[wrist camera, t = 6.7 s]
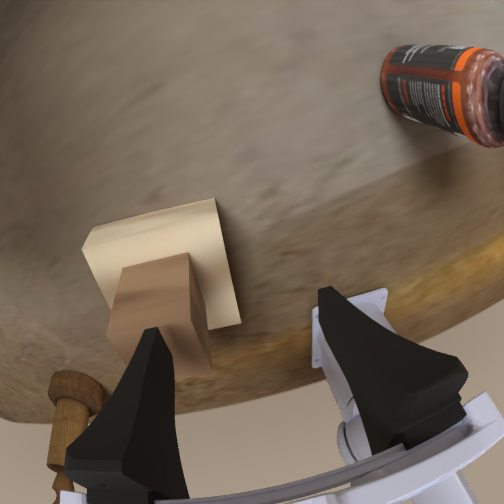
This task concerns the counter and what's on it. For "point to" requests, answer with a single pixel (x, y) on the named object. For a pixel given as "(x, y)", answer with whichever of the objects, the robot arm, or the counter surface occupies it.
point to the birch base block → (168, 253)
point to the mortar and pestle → (69, 418)
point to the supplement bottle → (448, 89)
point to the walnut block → (163, 313)
